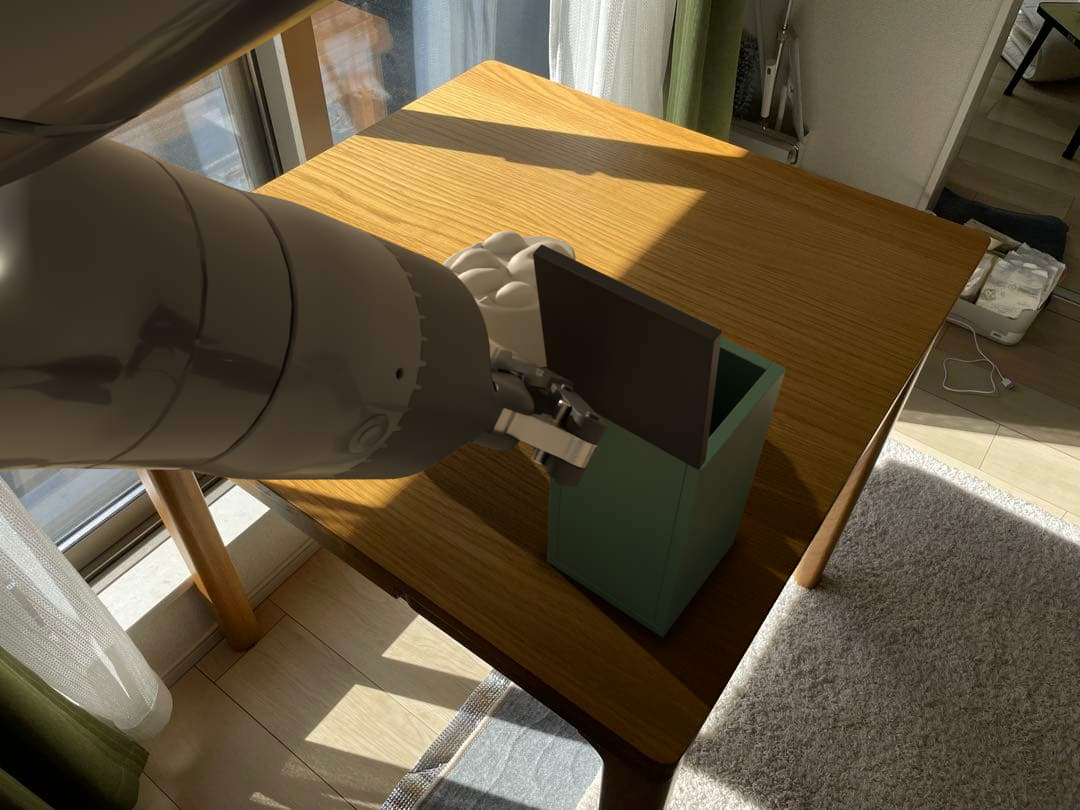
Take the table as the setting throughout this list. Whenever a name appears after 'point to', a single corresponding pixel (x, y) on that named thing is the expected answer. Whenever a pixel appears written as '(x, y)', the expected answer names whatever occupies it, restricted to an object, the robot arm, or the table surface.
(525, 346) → the lumpy-topped squat cylinder
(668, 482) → the green box
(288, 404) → the robot arm
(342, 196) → the table surface
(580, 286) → the box lid
